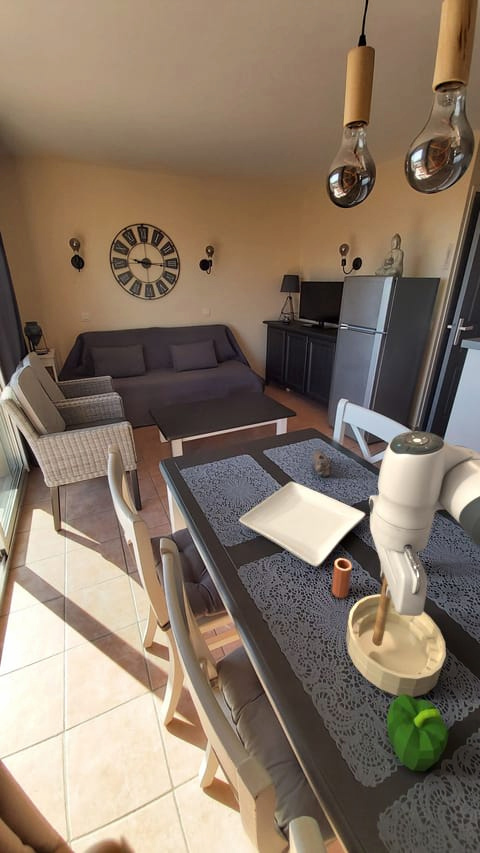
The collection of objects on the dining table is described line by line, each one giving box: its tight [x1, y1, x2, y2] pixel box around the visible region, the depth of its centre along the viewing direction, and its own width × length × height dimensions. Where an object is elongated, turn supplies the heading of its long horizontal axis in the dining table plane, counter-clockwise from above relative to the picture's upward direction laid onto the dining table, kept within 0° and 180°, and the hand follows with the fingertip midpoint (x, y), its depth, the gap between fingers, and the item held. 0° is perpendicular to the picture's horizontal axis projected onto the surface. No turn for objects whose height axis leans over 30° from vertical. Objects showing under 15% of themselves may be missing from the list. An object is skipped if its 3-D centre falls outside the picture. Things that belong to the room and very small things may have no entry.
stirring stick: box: [372, 576, 391, 646], centre depth 67 cm, size 2×2×20 cm
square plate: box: [238, 481, 366, 568], centre depth 106 cm, size 27×27×4 cm
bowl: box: [345, 593, 447, 698], centre depth 71 cm, size 17×17×6 cm
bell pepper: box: [386, 694, 450, 772], centre depth 55 cm, size 8×8×10 cm
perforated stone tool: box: [311, 449, 332, 478], centre depth 135 cm, size 15×5×7 cm, turn 1°
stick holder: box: [331, 557, 353, 599], centre depth 84 cm, size 4×4×8 cm
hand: (388, 587), depth 65 cm, fingers closed on stirring stick, 2 cm apart
